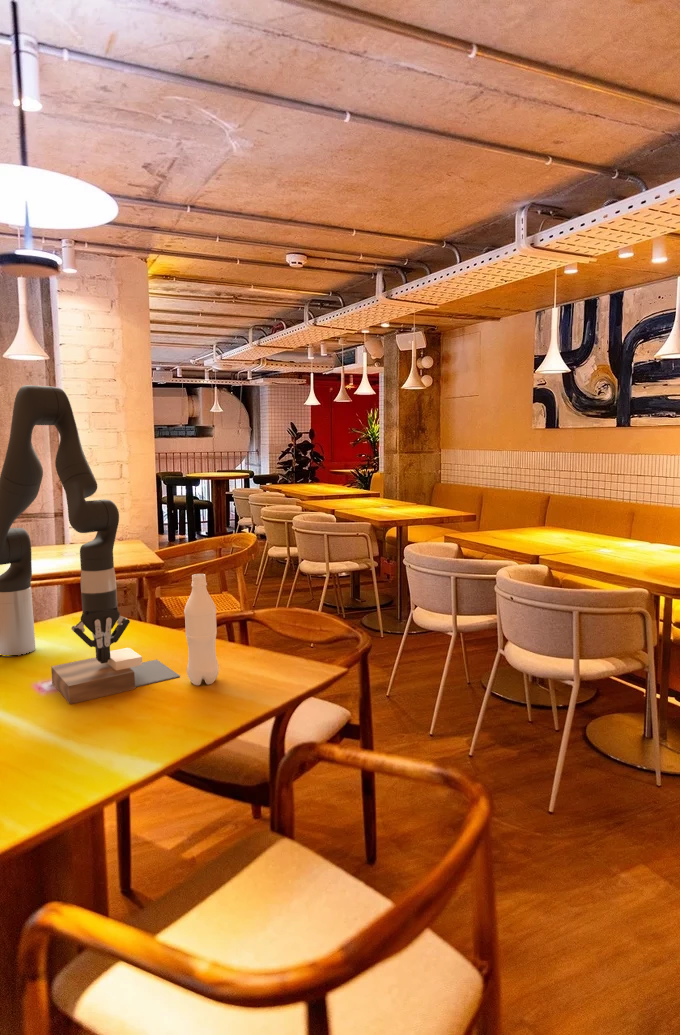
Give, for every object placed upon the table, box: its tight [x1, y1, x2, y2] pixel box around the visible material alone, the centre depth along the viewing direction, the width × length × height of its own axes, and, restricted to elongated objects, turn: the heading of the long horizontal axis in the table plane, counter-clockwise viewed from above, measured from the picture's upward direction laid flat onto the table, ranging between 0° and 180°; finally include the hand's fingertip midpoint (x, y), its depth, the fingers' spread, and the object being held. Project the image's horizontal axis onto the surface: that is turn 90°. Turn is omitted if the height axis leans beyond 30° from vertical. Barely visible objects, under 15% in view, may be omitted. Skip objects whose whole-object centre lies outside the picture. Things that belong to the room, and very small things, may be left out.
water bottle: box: [183, 573, 220, 686], centre depth 151 cm, size 7×7×25 cm
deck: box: [50, 656, 136, 705], centre depth 151 cm, size 16×14×4 cm
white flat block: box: [107, 647, 143, 671], centre depth 154 cm, size 9×6×2 cm, turn 36°
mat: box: [130, 659, 181, 688], centre depth 158 cm, size 15×11×1 cm
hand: (103, 662), depth 152 cm, fingers closed
